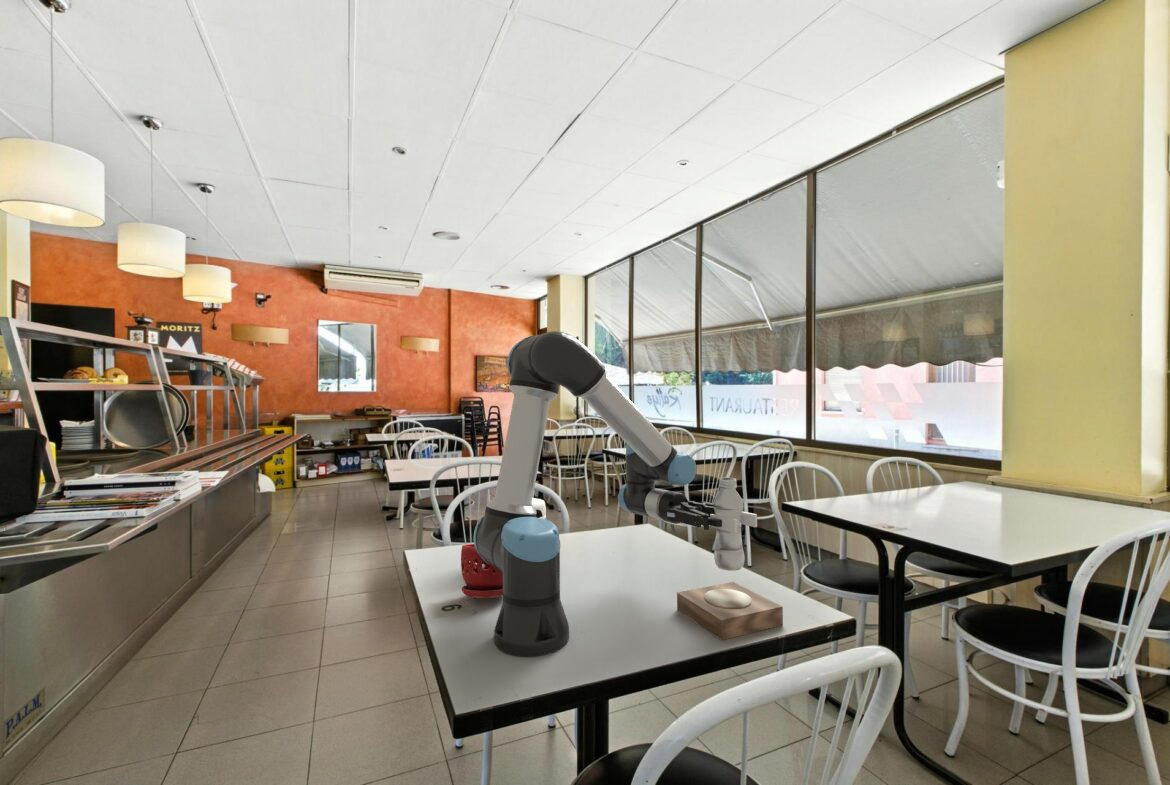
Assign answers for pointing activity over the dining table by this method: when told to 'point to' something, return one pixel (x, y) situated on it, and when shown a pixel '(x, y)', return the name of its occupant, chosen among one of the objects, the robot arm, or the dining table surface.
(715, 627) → the walnut plinth
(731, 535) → the plastic bottle
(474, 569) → the plant pot
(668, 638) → the dining table surface
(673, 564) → the dining table surface
